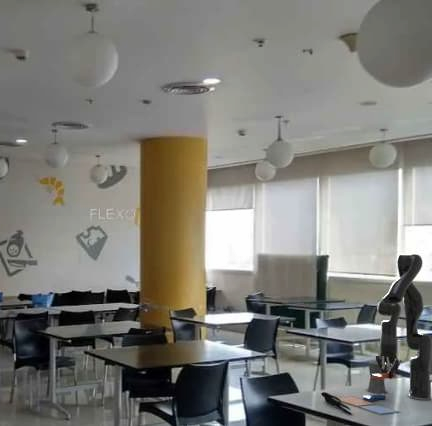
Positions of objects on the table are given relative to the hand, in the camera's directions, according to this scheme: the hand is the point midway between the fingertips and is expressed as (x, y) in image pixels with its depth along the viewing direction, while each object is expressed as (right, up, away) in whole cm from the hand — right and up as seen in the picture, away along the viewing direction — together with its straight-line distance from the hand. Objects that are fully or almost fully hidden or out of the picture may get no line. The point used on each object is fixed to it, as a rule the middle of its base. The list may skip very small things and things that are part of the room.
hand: (387, 377), depth 302 cm
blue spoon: (-2, -14, +9) cm, 17 cm away
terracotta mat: (-15, -13, +4) cm, 20 cm away
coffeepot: (+7, -15, +28) cm, 32 cm away
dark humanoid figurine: (-26, -12, -9) cm, 30 cm away
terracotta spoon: (-2, 0, -1) cm, 2 cm away
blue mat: (-9, -12, -10) cm, 18 cm away
